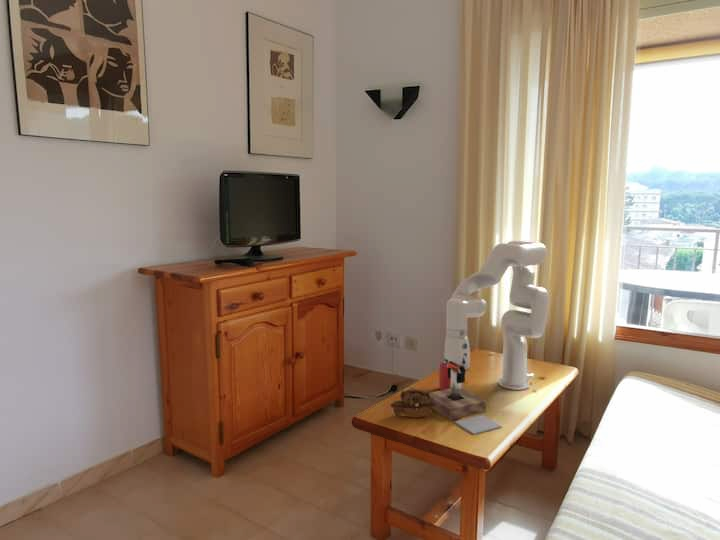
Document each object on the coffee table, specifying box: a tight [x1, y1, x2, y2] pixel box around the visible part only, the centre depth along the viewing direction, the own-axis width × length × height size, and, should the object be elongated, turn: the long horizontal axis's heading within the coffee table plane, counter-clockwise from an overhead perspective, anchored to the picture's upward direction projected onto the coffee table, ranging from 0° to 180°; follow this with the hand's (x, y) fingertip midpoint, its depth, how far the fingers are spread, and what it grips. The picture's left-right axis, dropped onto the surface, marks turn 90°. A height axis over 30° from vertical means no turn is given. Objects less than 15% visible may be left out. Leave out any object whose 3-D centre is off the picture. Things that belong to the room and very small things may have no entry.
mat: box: [454, 414, 503, 436], centre depth 177 cm, size 12×10×1 cm
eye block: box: [428, 387, 487, 421], centre depth 192 cm, size 16×16×4 cm
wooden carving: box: [390, 387, 437, 419], centre depth 184 cm, size 16×5×10 cm, turn 95°
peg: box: [447, 362, 464, 401], centre depth 191 cm, size 7×7×15 cm
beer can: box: [438, 359, 451, 391], centre depth 209 cm, size 7×7×12 cm
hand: (456, 379), depth 191 cm, fingers closed on peg, 4 cm apart
